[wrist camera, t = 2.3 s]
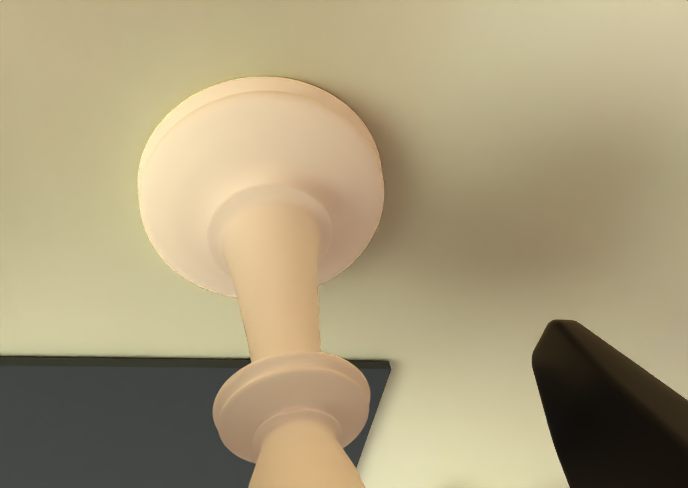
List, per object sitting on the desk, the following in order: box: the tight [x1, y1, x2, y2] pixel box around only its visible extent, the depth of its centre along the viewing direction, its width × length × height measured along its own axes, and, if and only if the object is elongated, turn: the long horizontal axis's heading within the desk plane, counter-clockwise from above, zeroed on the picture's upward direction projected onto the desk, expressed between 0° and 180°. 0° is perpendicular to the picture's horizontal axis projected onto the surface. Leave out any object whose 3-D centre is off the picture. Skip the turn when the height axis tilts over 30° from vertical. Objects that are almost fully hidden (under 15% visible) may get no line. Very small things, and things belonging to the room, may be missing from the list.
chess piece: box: [138, 76, 384, 488], centre depth 9 cm, size 5×5×10 cm
